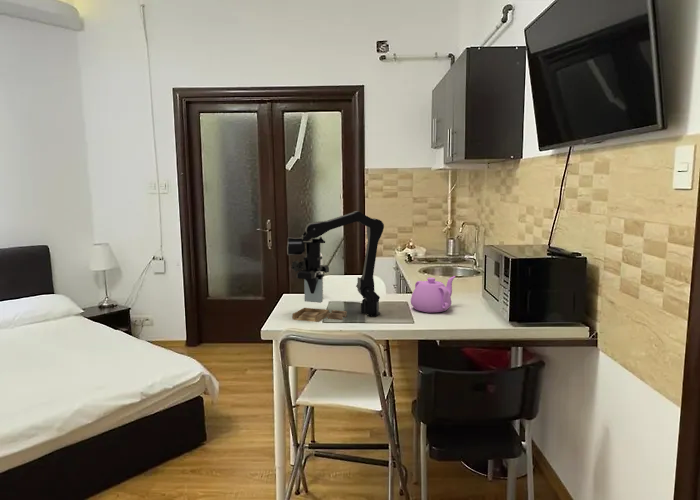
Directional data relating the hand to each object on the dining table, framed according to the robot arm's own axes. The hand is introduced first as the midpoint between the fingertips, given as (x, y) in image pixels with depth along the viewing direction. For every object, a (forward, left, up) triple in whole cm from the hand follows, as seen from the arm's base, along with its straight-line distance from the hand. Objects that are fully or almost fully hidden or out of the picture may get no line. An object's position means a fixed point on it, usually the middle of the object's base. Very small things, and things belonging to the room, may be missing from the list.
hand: (313, 292), depth 209 cm
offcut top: (-1, +5, -8) cm, 10 cm away
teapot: (-43, -31, -10) cm, 54 cm away
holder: (-10, 0, -10) cm, 14 cm away
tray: (0, +3, -10) cm, 11 cm away
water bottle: (+14, -32, -10) cm, 36 cm away
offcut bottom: (0, +4, -9) cm, 10 cm away
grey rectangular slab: (0, 0, -4) cm, 4 cm away
